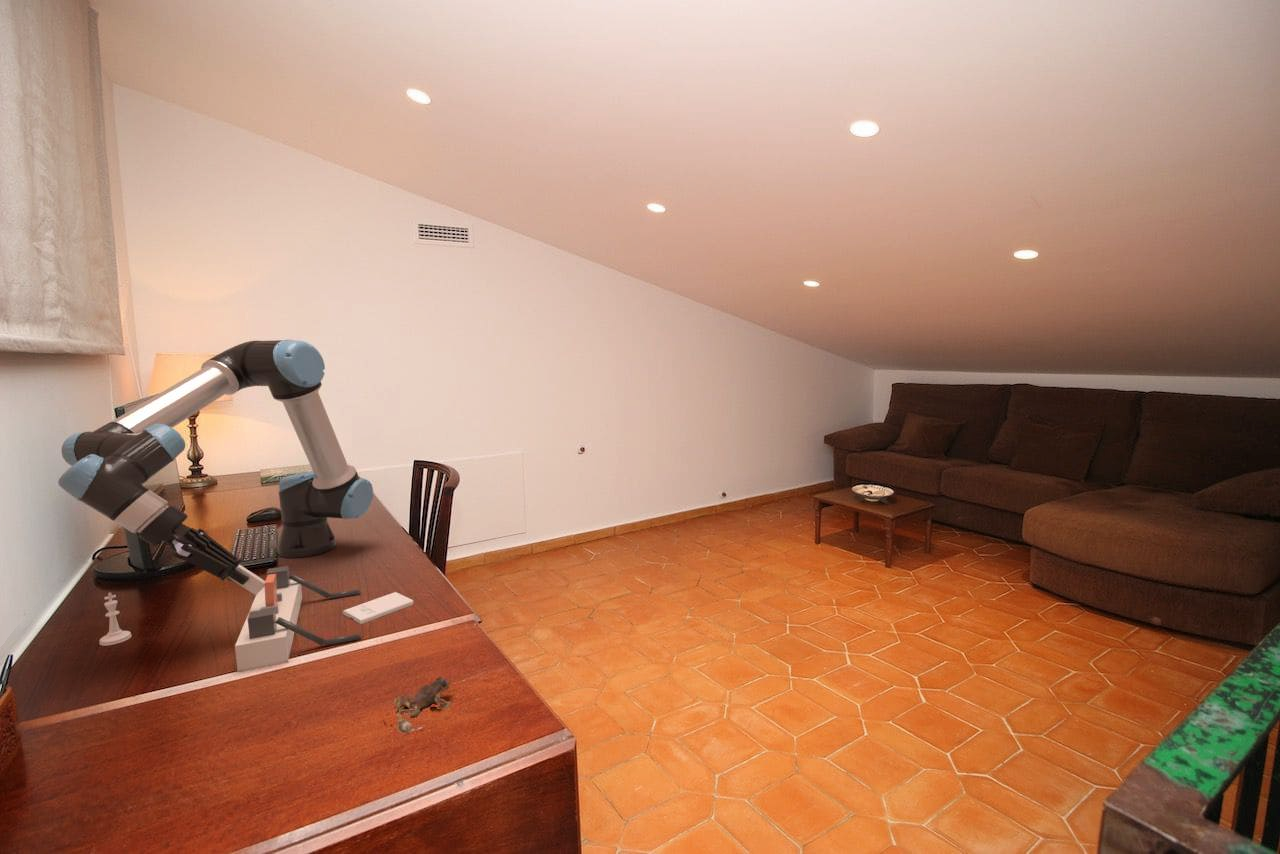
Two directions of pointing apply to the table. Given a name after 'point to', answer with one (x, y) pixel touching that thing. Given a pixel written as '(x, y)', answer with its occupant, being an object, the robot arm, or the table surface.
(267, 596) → the block
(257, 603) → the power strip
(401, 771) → the table surface
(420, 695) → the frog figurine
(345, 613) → the external hard drive
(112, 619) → the chess piece
